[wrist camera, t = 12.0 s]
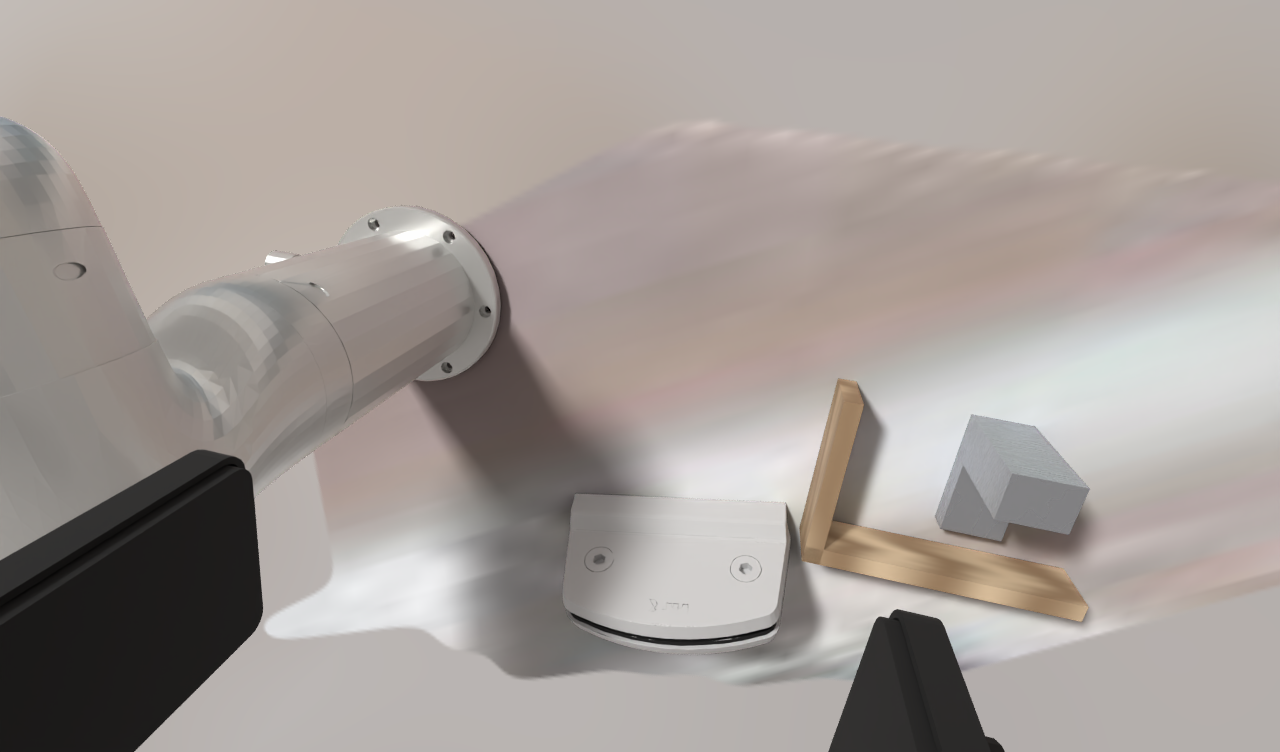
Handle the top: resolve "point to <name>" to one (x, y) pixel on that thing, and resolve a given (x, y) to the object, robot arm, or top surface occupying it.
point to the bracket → (1009, 482)
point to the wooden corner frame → (915, 539)
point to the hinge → (676, 571)
